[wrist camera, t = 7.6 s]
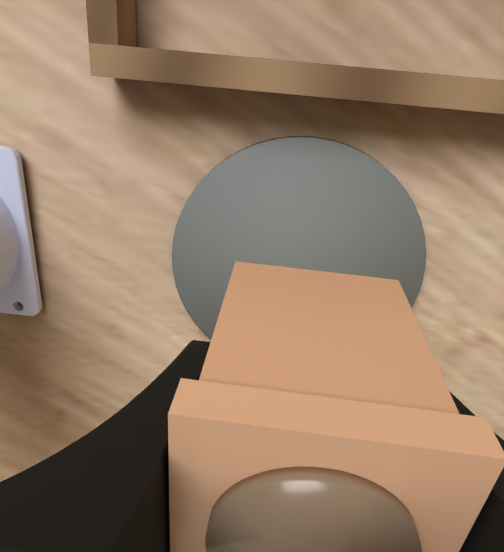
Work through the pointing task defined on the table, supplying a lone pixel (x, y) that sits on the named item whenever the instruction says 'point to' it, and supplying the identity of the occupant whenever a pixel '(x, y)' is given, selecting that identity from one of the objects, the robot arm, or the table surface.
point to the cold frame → (272, 70)
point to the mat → (295, 221)
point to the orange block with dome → (322, 426)
